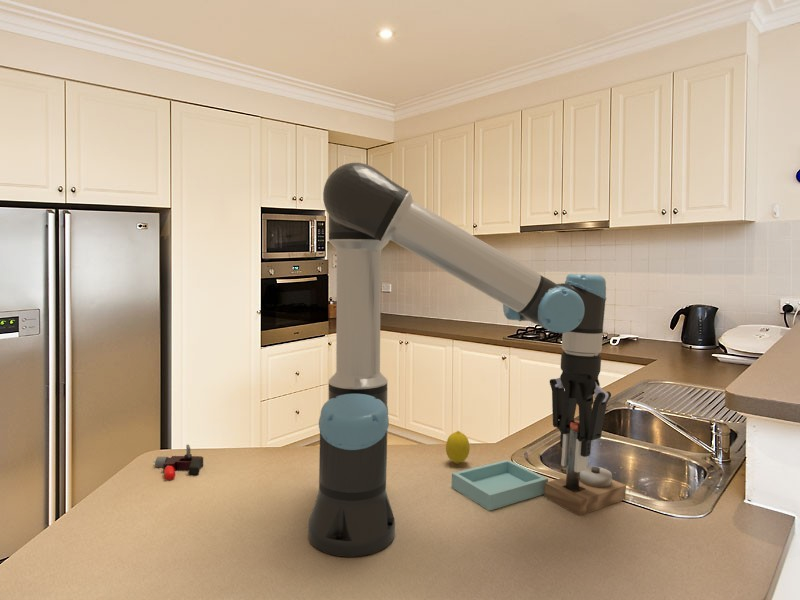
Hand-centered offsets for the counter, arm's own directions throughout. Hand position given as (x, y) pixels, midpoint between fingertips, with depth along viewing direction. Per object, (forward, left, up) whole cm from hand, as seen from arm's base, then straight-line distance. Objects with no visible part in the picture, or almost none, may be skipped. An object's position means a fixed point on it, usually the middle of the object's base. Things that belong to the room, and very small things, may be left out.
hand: (573, 467), depth 107 cm
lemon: (-8, +27, -7) cm, 29 cm away
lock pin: (0, 0, -4) cm, 4 cm away
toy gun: (-66, +53, -8) cm, 86 cm away
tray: (-9, +11, -7) cm, 16 cm away
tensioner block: (+4, 0, -7) cm, 8 cm away
